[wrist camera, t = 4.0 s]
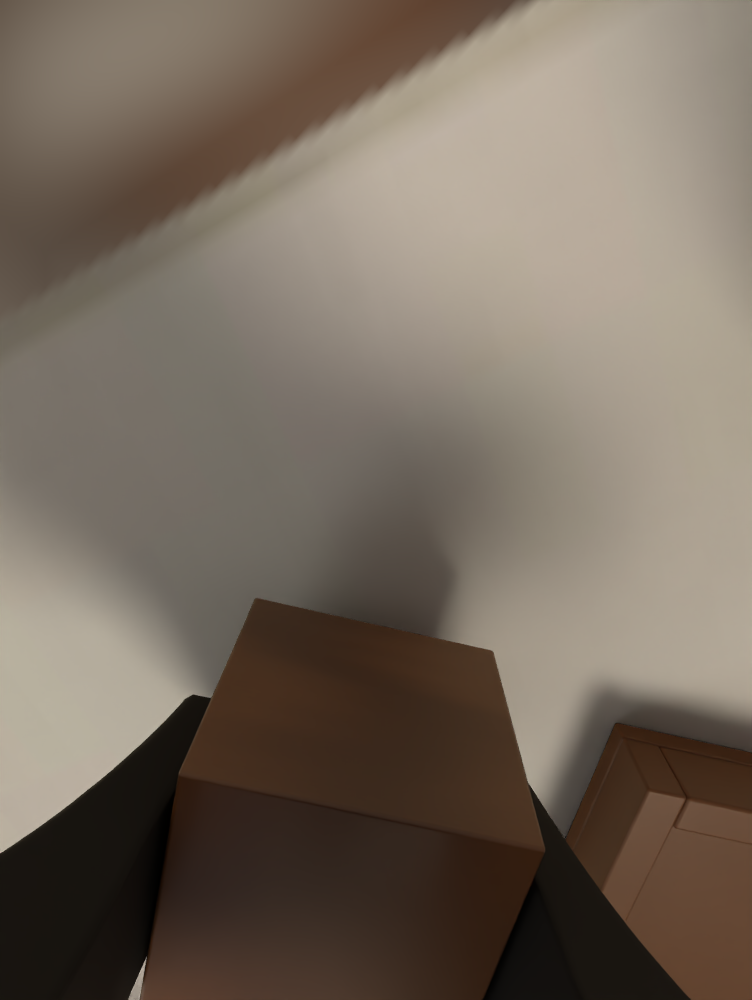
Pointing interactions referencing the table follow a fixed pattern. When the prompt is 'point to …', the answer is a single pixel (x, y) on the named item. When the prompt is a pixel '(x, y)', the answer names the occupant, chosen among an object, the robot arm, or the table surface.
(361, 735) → the walnut block
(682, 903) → the brown tray
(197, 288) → the table surface
